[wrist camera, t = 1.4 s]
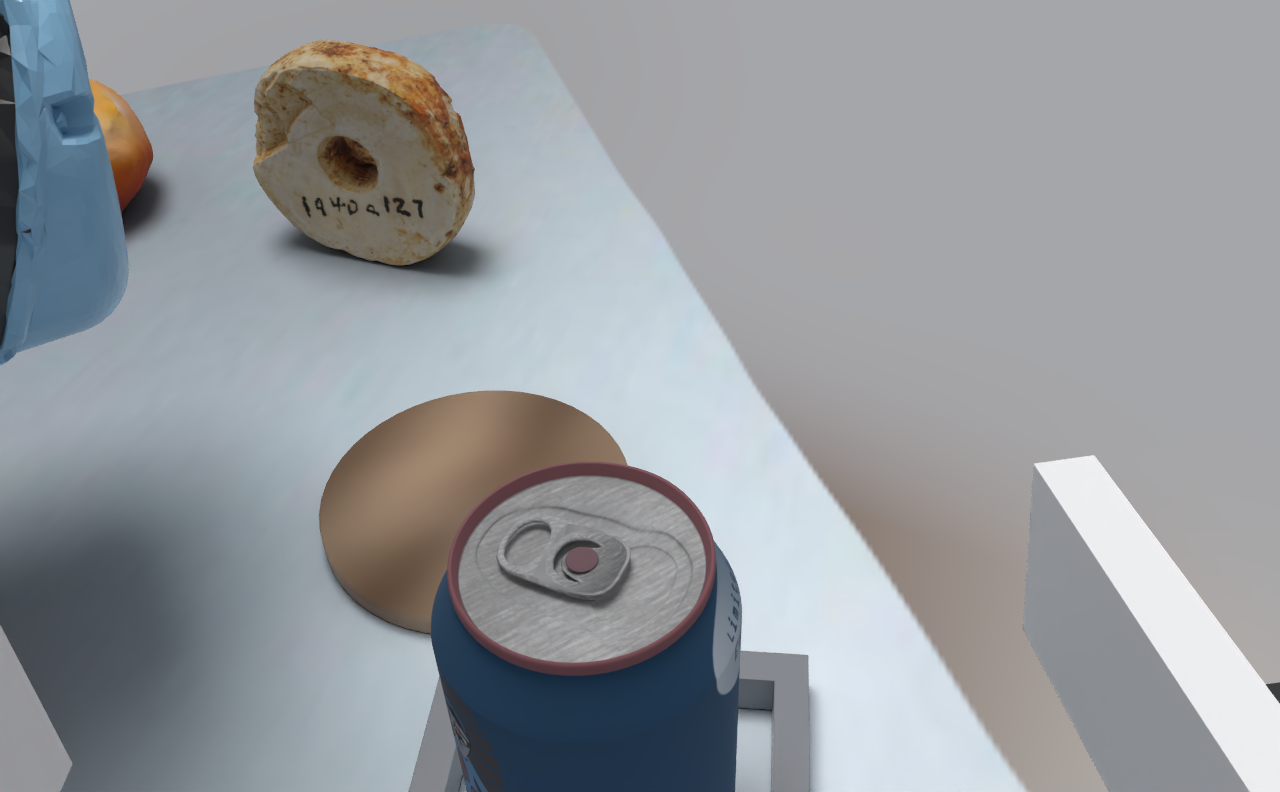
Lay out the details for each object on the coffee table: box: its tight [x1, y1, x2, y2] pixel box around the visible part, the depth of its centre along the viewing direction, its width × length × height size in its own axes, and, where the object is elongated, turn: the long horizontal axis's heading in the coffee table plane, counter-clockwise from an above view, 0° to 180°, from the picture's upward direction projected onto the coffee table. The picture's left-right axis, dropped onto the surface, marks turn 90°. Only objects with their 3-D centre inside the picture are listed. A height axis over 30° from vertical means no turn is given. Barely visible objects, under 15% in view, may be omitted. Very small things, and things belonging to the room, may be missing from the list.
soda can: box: [431, 462, 742, 792], centre depth 29 cm, size 7×7×12 cm
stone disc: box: [253, 40, 475, 265], centre depth 52 cm, size 10×4×10 cm, turn 69°
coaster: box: [319, 391, 627, 634], centre depth 42 cm, size 11×11×1 cm
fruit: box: [89, 80, 153, 213], centre depth 57 cm, size 8×8×8 cm
